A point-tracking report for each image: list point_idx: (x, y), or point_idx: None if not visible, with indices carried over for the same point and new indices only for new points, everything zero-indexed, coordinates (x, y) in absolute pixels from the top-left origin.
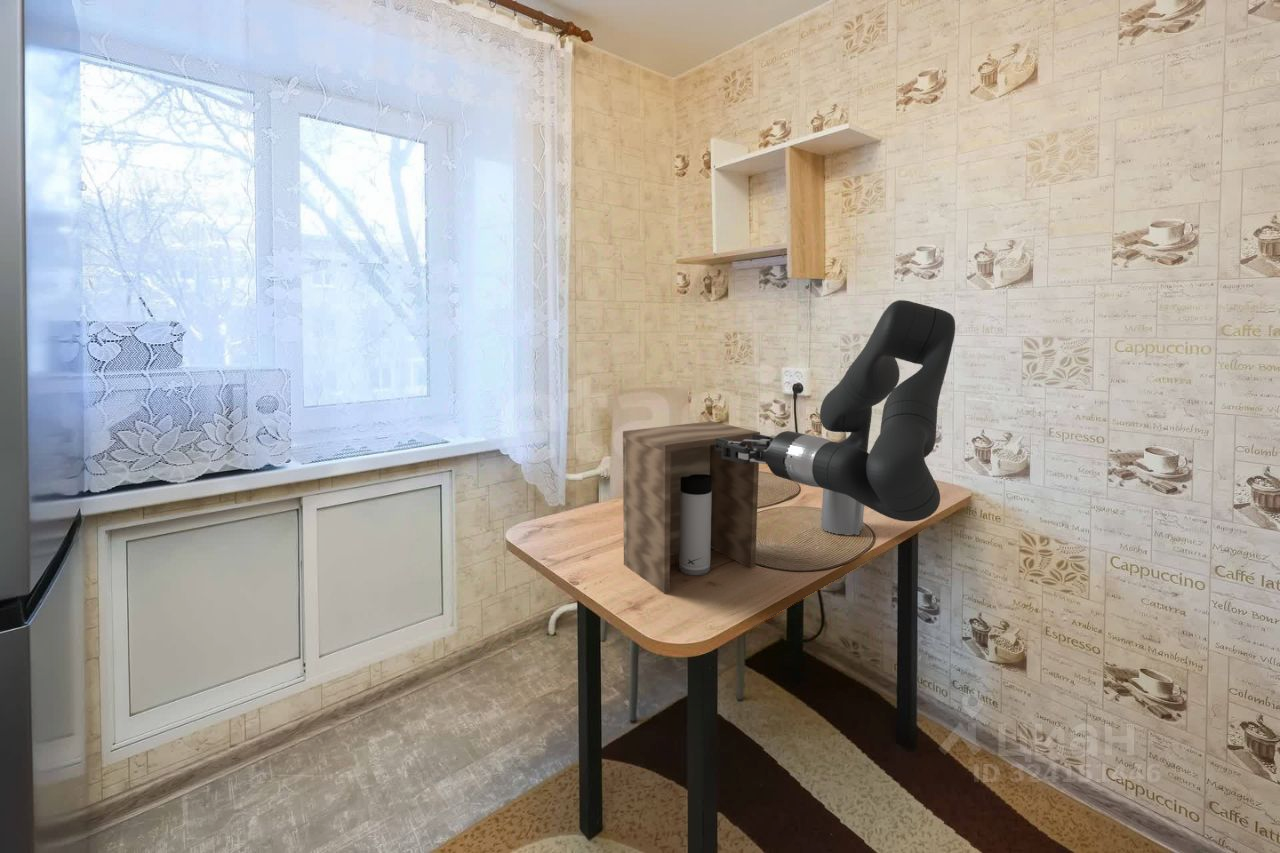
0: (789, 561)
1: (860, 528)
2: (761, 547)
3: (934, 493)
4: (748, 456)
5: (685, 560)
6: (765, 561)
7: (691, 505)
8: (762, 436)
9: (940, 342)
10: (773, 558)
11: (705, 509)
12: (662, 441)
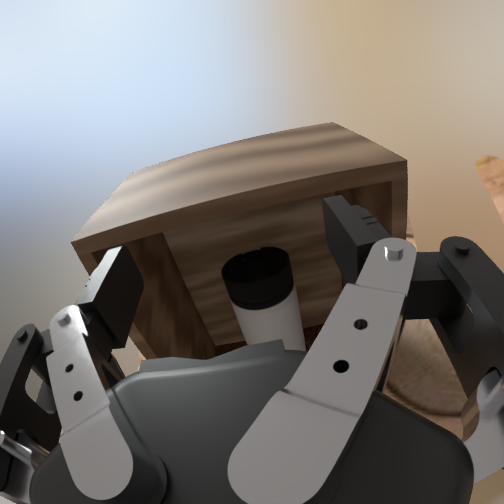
0: (439, 381)
1: None
2: (416, 334)
3: None
4: (2, 496)
5: None
6: (404, 377)
7: (242, 322)
8: (343, 230)
9: None
10: (420, 369)
11: (271, 332)
12: (97, 219)
